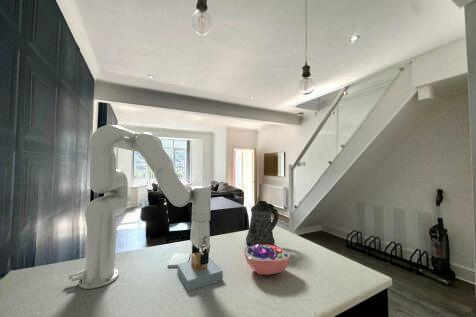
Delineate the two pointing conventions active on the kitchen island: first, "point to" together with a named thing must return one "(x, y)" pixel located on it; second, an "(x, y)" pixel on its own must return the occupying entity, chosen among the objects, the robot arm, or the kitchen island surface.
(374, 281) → the kitchen island surface
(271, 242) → the beer stein
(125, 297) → the kitchen island surface
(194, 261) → the amber block
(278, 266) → the cell model
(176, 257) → the hard drive
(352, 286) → the kitchen island surface
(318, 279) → the kitchen island surface
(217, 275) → the slate base
